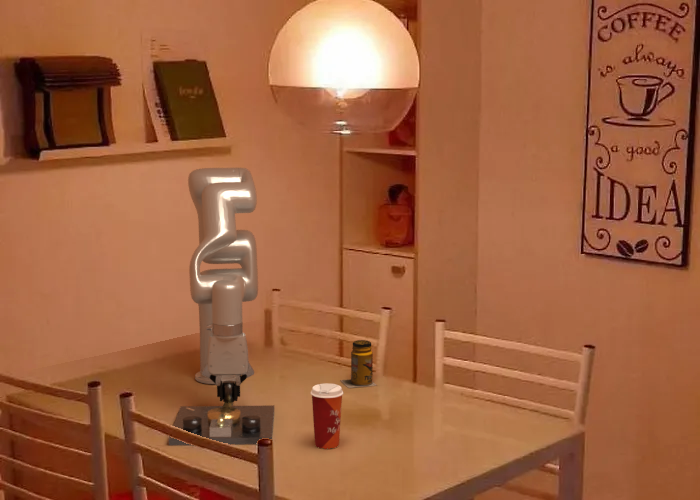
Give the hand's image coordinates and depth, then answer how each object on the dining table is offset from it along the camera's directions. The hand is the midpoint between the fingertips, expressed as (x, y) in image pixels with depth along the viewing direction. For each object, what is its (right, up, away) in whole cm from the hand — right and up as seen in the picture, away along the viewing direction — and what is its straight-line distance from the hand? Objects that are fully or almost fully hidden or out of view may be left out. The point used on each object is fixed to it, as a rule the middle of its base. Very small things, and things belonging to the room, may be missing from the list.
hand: (228, 398), depth 265 cm
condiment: (+33, 0, +28) cm, 43 cm away
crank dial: (0, -3, -6) cm, 7 cm away
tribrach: (0, -6, -9) cm, 11 cm away
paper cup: (+26, -8, -21) cm, 34 cm away
